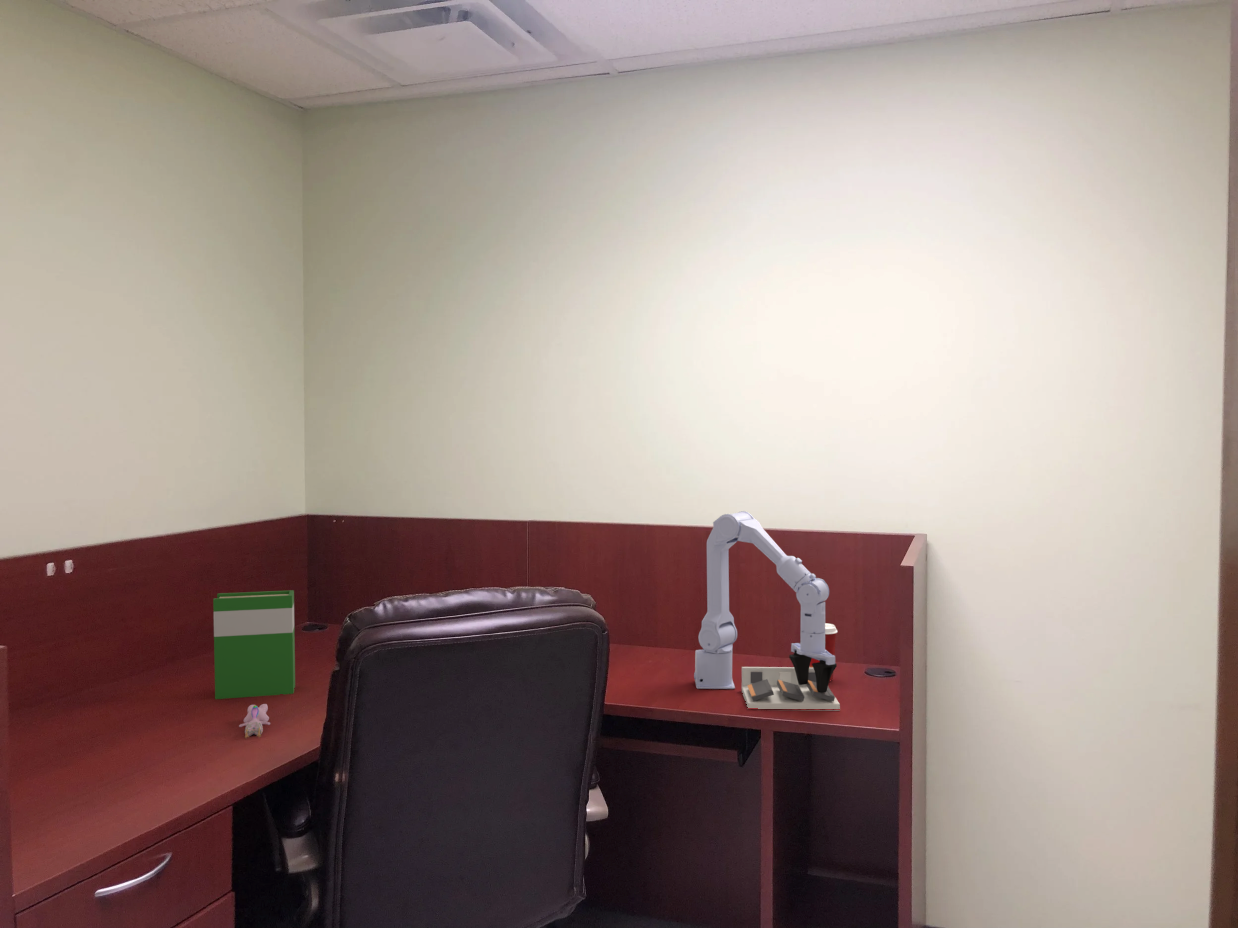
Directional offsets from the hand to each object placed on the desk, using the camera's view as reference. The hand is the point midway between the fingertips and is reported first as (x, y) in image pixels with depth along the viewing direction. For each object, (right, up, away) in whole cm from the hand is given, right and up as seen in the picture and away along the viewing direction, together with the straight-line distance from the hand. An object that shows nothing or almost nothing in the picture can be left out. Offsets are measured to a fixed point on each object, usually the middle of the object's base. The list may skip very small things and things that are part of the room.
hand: (812, 688), depth 228 cm
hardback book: (-134, -3, +8) cm, 134 cm away
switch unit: (-5, -3, +1) cm, 6 cm away
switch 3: (+2, -1, 0) cm, 2 cm away
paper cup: (+6, -3, +20) cm, 21 cm away
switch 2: (-5, -1, 0) cm, 5 cm away
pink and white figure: (-124, -4, -19) cm, 126 cm away
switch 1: (-12, -1, 0) cm, 12 cm away
